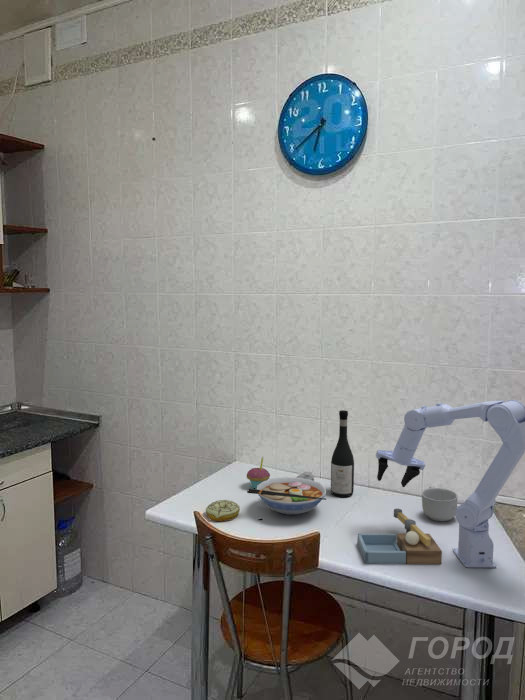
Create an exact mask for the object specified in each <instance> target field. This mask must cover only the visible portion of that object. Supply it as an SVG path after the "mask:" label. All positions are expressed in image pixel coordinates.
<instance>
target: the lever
mask: <svg viewBox="0 0 525 700" xmlns="http://www.w3.org/2000/svg"><path fill="white" fill-rule="evenodd" d="M393 517H394V518H395V519H398V520H399V521H400V522H401V523H402V524H403V525H404V530H409V531H414V532H416V533H417V534H418V536H419V540H420V541H421V542H422V543H424V544H425V545H426V546H430V545H431V539H430V538H429V537H428V536H427V535H426V534H427V533H425V532H424V531H422V530H421V529H420V528H419V527H418V526H417V525H416V524H417V521H415V520H414V519H411V518H410V519H409V518H408V517H407V516H406V515H405V514H404V513H403V510H402V509H401V508H394V509H393Z"/></svg>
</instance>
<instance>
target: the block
mask: <svg viewBox="0 0 525 700" xmlns="http://www.w3.org/2000/svg"><path fill="white" fill-rule="evenodd" d="M405 530H406V529H405ZM408 532H409V530H406V531H405V533H403V532H401V533H399V532H398V533H397V534H396V543H397V545H398V547H399V549H400V550H401V551H405V552H406V564H407V565H408V564H409V565H411V564H413V565H423V564H424V565H442V562H443V561H442V558H443V556H442V555H443V550H442V549H441V548H440V547H439V545H438V543H437V542H436V541H435V539H434V538H433V537H432V535H431V534H430V533H425V534H426V535H427V536H428V537H429V538H430V539H431V545H430V546H426V545H425V544H424V543H422V542H421V541H420V540H419V542H418V543H417V544H416V545H410V544H409V543H407V541H406V538H405V537H406V534H407V533H408Z"/></svg>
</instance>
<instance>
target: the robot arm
mask: <svg viewBox="0 0 525 700" xmlns="http://www.w3.org/2000/svg"><path fill="white" fill-rule="evenodd" d="M469 418H470V419H472V418H480V419H481V421H483V422H484V423H486V422H488V423H489V425H490V426H491V428H492V429H493V430H494V431H495V432H496V434H497V435H498V437H500V440H501V442H502V445H501V446H500V448H499V450H498V452H497V453H496V455H495V456H494V457H493V460H492V462H491V463H490V464H489V466H488V468H487V469H486V471H485V472H484V474H483V477H482V478H481V480H480V481H479V483H478V485H477V486H476V488H475V490H473V492H472V493H471V494H470V495H469V496H468V497H467V498H466V499H465V501H464V503H462V504H460V505H457V508H456V511H455V516H454V518H455V519H456V521H457V523H458V524H459V525H458V542H457V543H458V544H457V545H458V547H453V548H452V551H453V553H454V554H455V555H456V557H457V558H458V559H459V561H460V562H461V563H462V565H463V566H464V567H465V568H497V565H496V564H495V562H494V542H493V540H492V538H491V537H490V534H489V531H490V530H489V529H490V528H489V527H490V525H489V520H490V519H491V518H492V517H493V515H494V508H495V504H496V503H497V500H496V498H498V497H497V496H498V495H499V493H500V492H501V490H502V489H503V487H504V485H505V484H506V482H507V480H509V478H510V475H512V473H513V472H514V471H515V470H514V469H515V468H516V467H517V465H518V463H519V462H520V460H521V458H522V457H523V455H524V454H525V404H523V402H521V401H519V400H517V399H510V400H506V401H505V400H489V401H482V402H477V403H471V404H466V405H462V406H456V407H455V406H454V407H452V406H451V405H449V404H446V403H444V404H443V402H438V403H436V404H435V405H433V406H427V405H423V406H421V407H420V408H415V409H411V410H409V411H407V412H406V413H405V414H404V417H403V420H404V425H403V428H402V430H401V432H400V434H399V437H398V439H397V442H396V444H395V446H394V447H393V450H381V449H377V450H376V453H375V458H376V459H377V462H378V470H377V474H376V478H377V481H378V482H380V481H381V480H382V478H383V476H384V474H385V472H386V470H387V469H388V468H389V464H388V463H389V461H391V462H394V463H396V464H398V465H401V466H405V467H406V470H405V472H404V474H403V477H402V478H401V482H400V483H401V487H402V488H405V487H406V486H407V485H408V484H409V483H410V482H411V481H412V480H413V479H414V478H417V477H418V476H419V475H420V473H421V471H424V469H425V468H426V467H425V466H426V463H425V461H423V460H421V459H418V458H416V457H414V455H415V454H416V451H417V449H418V446H419V444H420V442H421V440H422V437H423V436H424V433H425V430H426V429H427V428H428V429H429V428H438V427H445V426H450V425H453V423H454V421H455V420H461V419H469ZM420 470H421V471H420Z"/></svg>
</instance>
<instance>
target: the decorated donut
mask: <svg viewBox="0 0 525 700" xmlns="http://www.w3.org/2000/svg"><path fill="white" fill-rule="evenodd" d="M240 510H241V509H240V505H239V504H238V503H237V502H235V501H233V500H229V499H219V500H216V501H213V502H211V503H210V504H208V505H207V506H206V507H205V513H206V516H207V518H208V519H209V520H210V519H211V520H210V521H213V520H215V521H214V522H226V521H225V520H228V521H231V520H234V519H236V518H235V517H238V515H239V514H240Z"/></svg>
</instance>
